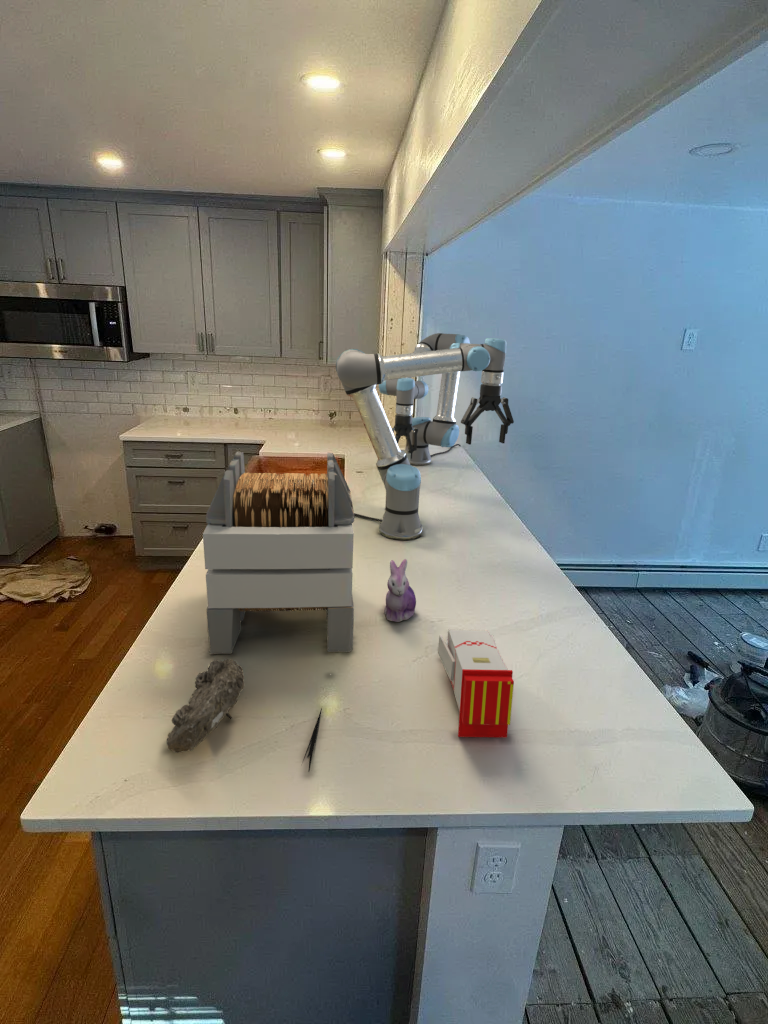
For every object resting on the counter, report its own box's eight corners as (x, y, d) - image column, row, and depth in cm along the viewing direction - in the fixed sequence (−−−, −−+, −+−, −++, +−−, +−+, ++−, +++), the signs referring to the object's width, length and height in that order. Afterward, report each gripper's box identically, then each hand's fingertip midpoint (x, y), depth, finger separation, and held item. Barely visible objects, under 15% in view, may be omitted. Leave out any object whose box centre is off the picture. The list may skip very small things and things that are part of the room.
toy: (488, 613, 130) (523, 677, 101) (484, 667, 133) (517, 744, 104) (435, 612, 130) (455, 676, 101) (432, 666, 133) (451, 743, 103)
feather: (331, 679, 122) (336, 673, 122) (307, 777, 96) (313, 769, 95) (324, 675, 122) (329, 669, 121) (298, 772, 95) (304, 764, 95)
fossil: (192, 660, 117) (244, 628, 112) (224, 691, 120) (276, 661, 115) (142, 746, 98) (202, 712, 93) (182, 779, 101) (242, 748, 96)
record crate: (229, 585, 158) (221, 442, 144) (346, 584, 161) (350, 444, 148) (206, 656, 126) (193, 481, 112) (353, 652, 130) (358, 483, 116)
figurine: (392, 627, 141) (395, 572, 136) (374, 608, 149) (376, 556, 144) (425, 619, 145) (429, 566, 140) (405, 601, 154) (408, 550, 149)
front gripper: (464, 385, 193) (458, 446, 200) (527, 385, 200) (520, 444, 208) (454, 382, 199) (449, 441, 207) (516, 382, 207) (510, 439, 214)
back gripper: (386, 416, 240) (383, 469, 248) (427, 416, 246) (423, 467, 253) (380, 413, 247) (378, 464, 254) (420, 412, 252) (417, 463, 260)
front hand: (485, 443), depth 207 cm, fingers open, 13 cm apart
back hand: (400, 466), depth 254 cm, fingers closed on block, 6 cm apart
